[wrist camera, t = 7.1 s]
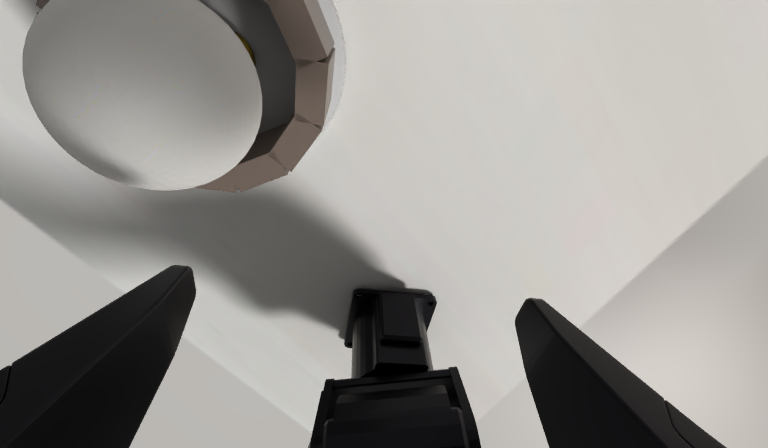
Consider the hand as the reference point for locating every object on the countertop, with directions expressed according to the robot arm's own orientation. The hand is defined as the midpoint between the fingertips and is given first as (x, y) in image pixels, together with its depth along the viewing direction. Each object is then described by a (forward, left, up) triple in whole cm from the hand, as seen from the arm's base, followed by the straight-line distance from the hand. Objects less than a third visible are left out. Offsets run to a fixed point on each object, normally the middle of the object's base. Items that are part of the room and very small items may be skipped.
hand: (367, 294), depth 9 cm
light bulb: (+3, +7, -12) cm, 14 cm away
